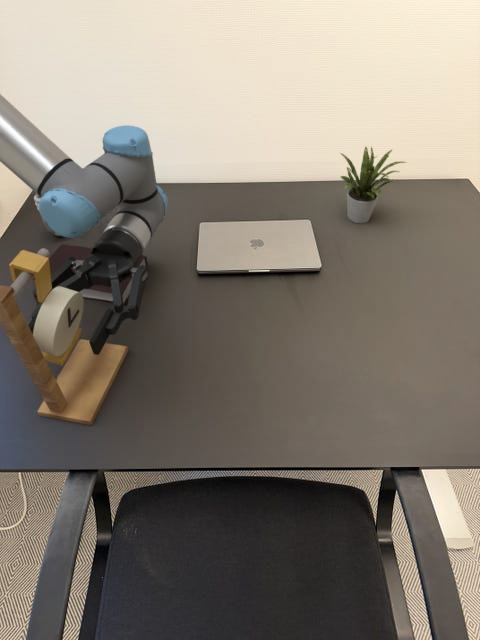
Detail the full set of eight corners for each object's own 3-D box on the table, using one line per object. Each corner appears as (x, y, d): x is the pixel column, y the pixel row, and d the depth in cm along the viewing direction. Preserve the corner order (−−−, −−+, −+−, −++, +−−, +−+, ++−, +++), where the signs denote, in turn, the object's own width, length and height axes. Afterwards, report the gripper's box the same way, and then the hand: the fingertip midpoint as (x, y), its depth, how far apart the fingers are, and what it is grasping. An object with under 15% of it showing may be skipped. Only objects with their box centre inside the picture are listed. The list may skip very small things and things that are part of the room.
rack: (39, 415, 75) (-33, 297, 56) (81, 343, 85) (33, 223, 66) (92, 425, 73) (36, 308, 54) (128, 350, 84) (92, 229, 65)
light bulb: (77, 229, 109) (62, 182, 100) (67, 243, 105) (50, 197, 97) (55, 227, 110) (38, 180, 101) (44, 241, 106) (25, 194, 97)
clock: (11, 359, 71) (-7, 281, 58) (44, 312, 77) (33, 233, 65) (58, 373, 71) (49, 298, 58) (86, 325, 77) (84, 249, 65)
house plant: (406, 228, 107) (425, 162, 95) (353, 243, 104) (367, 176, 92) (372, 197, 116) (385, 133, 104) (322, 209, 113) (331, 144, 101)
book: (66, 252, 103) (61, 240, 101) (148, 264, 100) (146, 252, 97) (36, 291, 95) (31, 279, 92) (125, 305, 91) (122, 293, 89)
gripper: (184, 270, 82) (139, 371, 67) (69, 255, 85) (1, 348, 70) (180, 234, 76) (129, 336, 61) (56, 220, 80) (-20, 313, 65)
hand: (61, 343), depth 66 cm, fingers open, 9 cm apart
